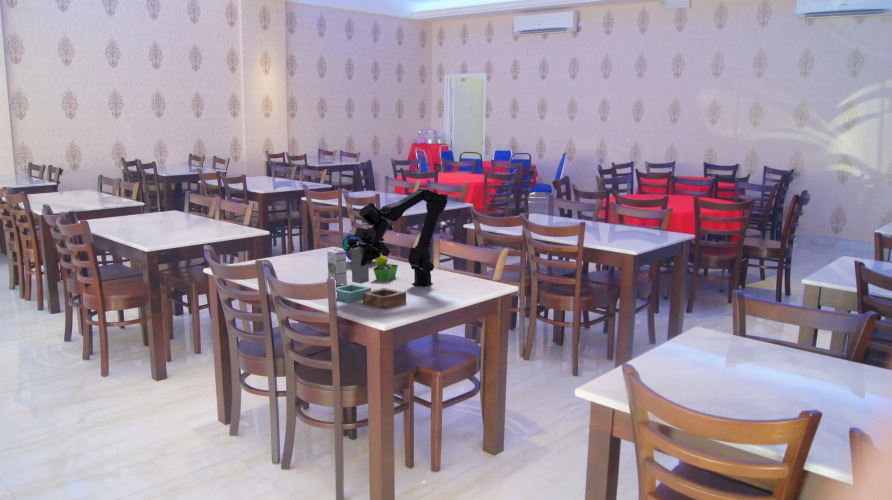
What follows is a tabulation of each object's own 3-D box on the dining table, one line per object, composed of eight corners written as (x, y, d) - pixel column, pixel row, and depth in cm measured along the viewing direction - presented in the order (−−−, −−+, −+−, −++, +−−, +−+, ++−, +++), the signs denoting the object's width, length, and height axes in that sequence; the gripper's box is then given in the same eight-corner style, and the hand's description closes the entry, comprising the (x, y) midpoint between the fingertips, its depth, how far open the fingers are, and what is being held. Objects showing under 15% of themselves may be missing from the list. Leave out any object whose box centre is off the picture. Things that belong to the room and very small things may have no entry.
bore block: (362, 303, 257) (362, 293, 256) (384, 297, 265) (384, 287, 265) (384, 308, 250) (384, 298, 249) (406, 302, 258) (406, 292, 258)
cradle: (327, 297, 266) (327, 289, 266) (352, 291, 276) (351, 283, 276) (350, 302, 258) (350, 294, 258) (375, 296, 268) (374, 287, 268)
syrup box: (347, 284, 288) (346, 250, 286) (336, 286, 284) (335, 252, 281) (339, 282, 292) (338, 248, 290) (327, 284, 288) (326, 250, 285)
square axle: (352, 282, 263) (351, 248, 260) (360, 279, 266) (359, 246, 264) (360, 283, 260) (359, 249, 258) (368, 281, 264) (368, 248, 261)
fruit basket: (388, 281, 293) (388, 255, 291) (369, 280, 296) (369, 254, 294) (399, 276, 304) (398, 251, 302) (380, 274, 306) (380, 249, 304)
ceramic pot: (341, 259, 340) (340, 229, 338) (377, 258, 344) (376, 228, 342) (345, 266, 324) (344, 235, 321) (382, 265, 328) (382, 233, 325)
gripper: (349, 217, 268) (329, 249, 261) (384, 221, 256) (363, 255, 250) (364, 234, 275) (344, 266, 269) (398, 239, 264) (379, 272, 257)
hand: (357, 264), depth 261 cm, fingers closed on square axle, 4 cm apart
